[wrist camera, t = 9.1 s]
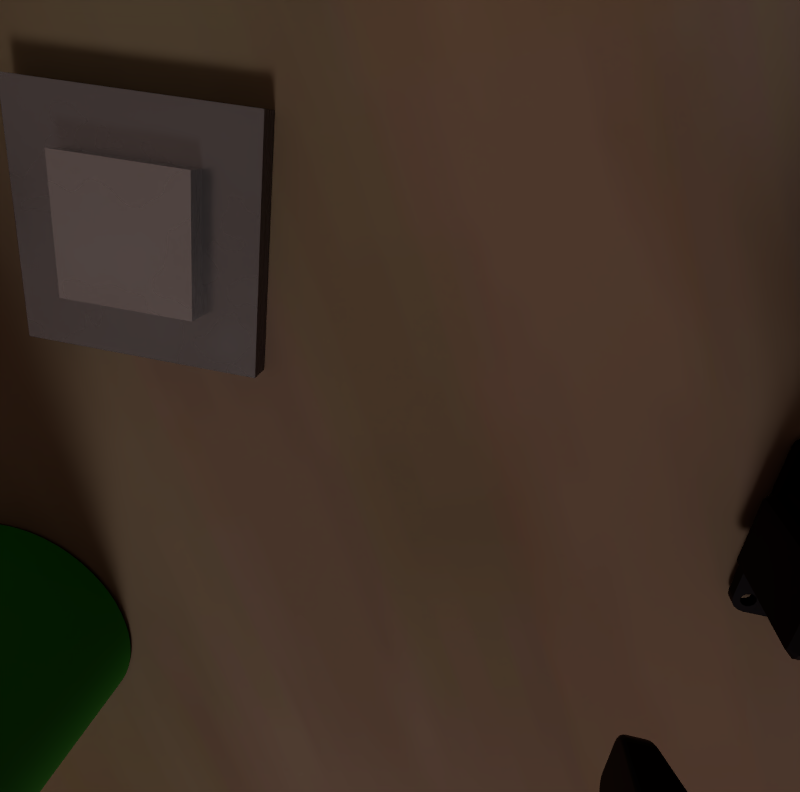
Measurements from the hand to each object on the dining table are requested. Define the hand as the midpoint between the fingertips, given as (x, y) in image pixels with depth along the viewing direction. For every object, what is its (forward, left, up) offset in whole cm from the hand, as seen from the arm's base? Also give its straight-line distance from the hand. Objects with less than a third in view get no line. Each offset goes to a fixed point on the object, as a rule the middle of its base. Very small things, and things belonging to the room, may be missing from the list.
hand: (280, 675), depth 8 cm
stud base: (+9, -3, -12) cm, 16 cm away
